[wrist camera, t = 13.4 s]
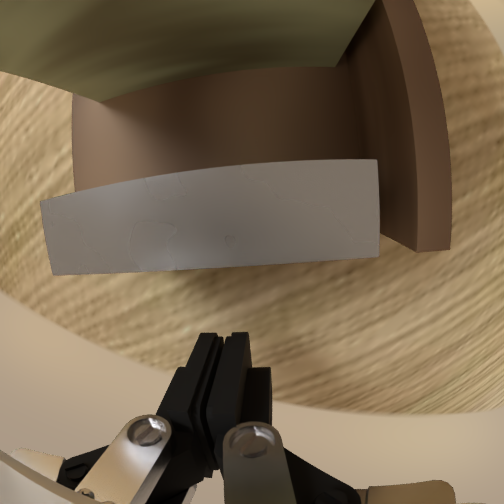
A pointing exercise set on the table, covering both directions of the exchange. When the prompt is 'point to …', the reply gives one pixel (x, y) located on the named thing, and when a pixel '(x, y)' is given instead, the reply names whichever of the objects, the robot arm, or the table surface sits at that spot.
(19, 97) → the table surface
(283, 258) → the bookend
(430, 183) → the shelf
